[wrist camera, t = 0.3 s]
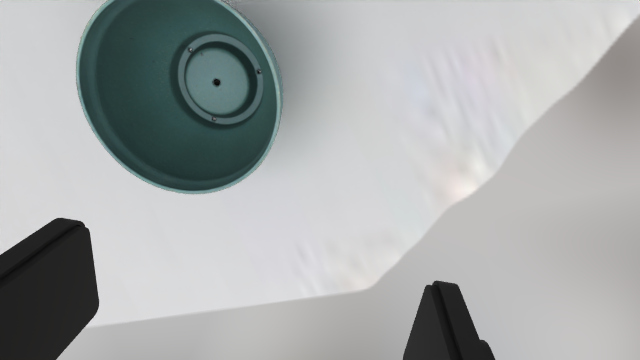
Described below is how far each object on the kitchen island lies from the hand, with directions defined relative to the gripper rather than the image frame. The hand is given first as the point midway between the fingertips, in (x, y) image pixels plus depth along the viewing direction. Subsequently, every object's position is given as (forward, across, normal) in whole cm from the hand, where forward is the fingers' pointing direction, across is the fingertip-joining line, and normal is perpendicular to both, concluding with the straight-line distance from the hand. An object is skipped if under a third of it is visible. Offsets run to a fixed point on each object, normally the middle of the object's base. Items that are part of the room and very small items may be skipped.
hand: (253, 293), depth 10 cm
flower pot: (+31, +11, 0) cm, 33 cm away
